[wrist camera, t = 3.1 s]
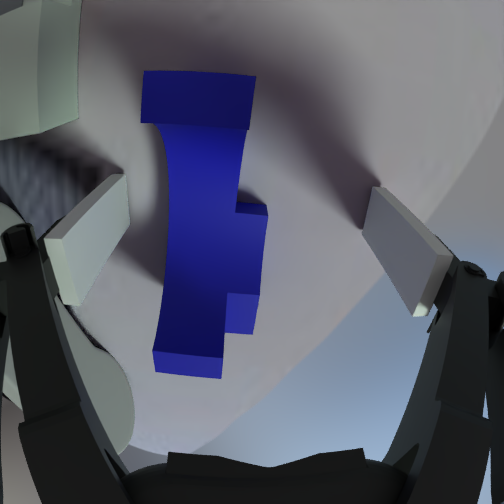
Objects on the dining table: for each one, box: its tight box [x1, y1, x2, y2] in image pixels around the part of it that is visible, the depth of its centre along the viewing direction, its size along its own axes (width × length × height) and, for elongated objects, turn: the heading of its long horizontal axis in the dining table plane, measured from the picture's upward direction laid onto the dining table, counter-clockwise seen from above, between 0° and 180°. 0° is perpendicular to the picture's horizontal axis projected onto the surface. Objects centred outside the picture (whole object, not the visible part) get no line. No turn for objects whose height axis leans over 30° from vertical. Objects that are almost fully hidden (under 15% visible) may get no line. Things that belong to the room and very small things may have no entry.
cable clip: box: [141, 71, 268, 379], centre depth 13 cm, size 12×4×6 cm, turn 173°
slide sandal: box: [0, 202, 135, 455], centre depth 15 cm, size 20×2×8 cm, turn 15°
